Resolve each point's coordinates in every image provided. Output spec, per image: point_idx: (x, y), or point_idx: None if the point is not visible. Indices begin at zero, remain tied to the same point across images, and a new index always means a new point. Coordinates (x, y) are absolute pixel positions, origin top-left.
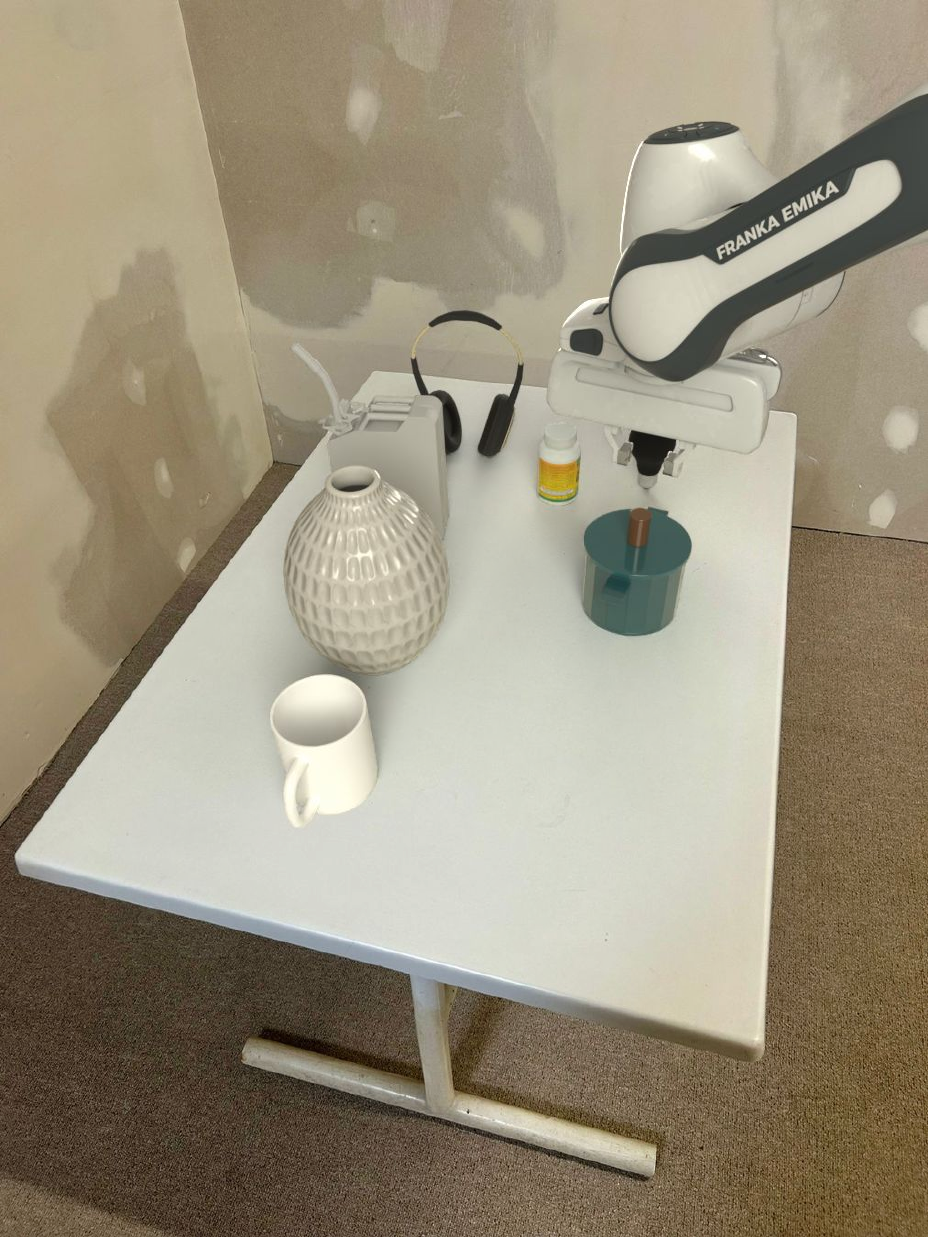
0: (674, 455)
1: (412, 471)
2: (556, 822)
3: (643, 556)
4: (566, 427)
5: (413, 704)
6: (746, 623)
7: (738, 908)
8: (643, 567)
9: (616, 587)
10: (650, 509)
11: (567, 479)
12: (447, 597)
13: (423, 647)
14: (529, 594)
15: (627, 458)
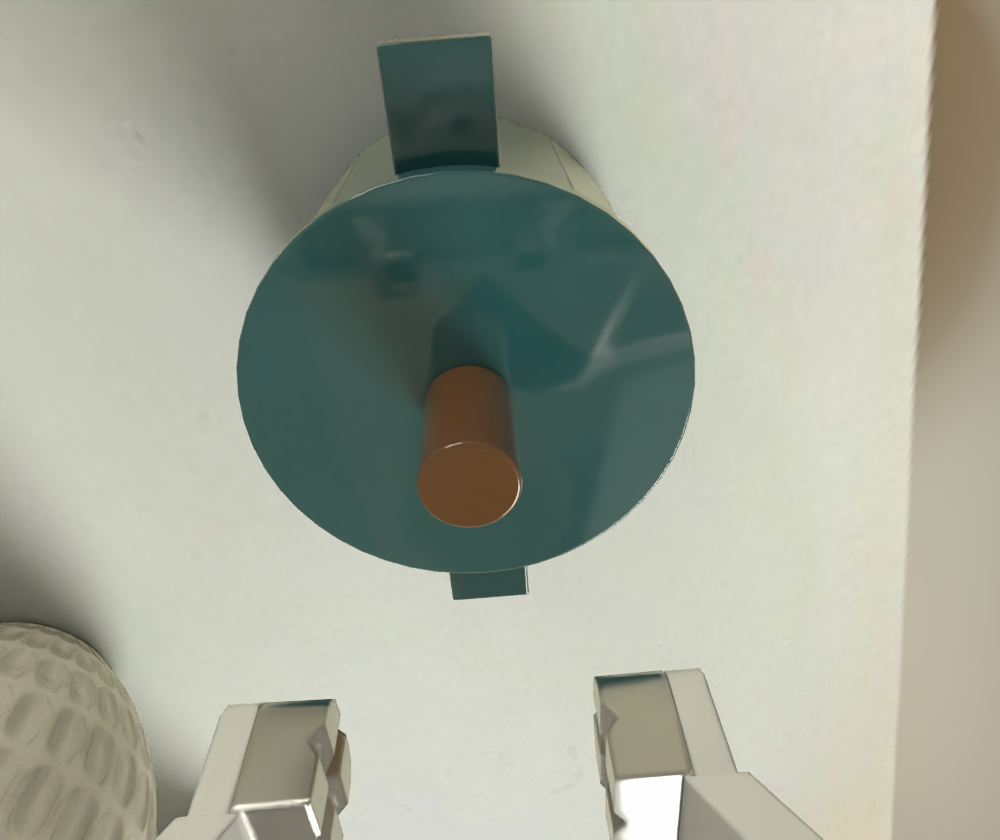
0: (666, 801)
1: None
2: (573, 781)
3: (529, 474)
4: None
5: (213, 728)
6: (836, 181)
7: (865, 773)
8: (551, 521)
9: None
10: (401, 70)
11: None
12: (112, 826)
13: (156, 790)
14: (184, 374)
15: (335, 788)
